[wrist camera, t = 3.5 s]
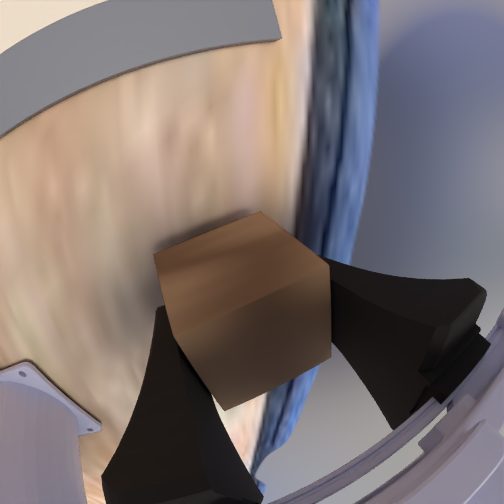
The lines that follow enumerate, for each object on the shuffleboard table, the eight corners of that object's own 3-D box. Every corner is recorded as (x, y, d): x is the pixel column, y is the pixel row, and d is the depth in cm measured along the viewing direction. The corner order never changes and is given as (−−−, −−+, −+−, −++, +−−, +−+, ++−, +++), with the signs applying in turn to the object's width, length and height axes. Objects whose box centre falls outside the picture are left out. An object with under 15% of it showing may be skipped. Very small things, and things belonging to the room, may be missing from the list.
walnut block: (192, 332, 13) (224, 411, 9) (153, 254, 10) (173, 336, 7) (277, 294, 14) (331, 357, 10) (260, 211, 11) (329, 265, 8)
